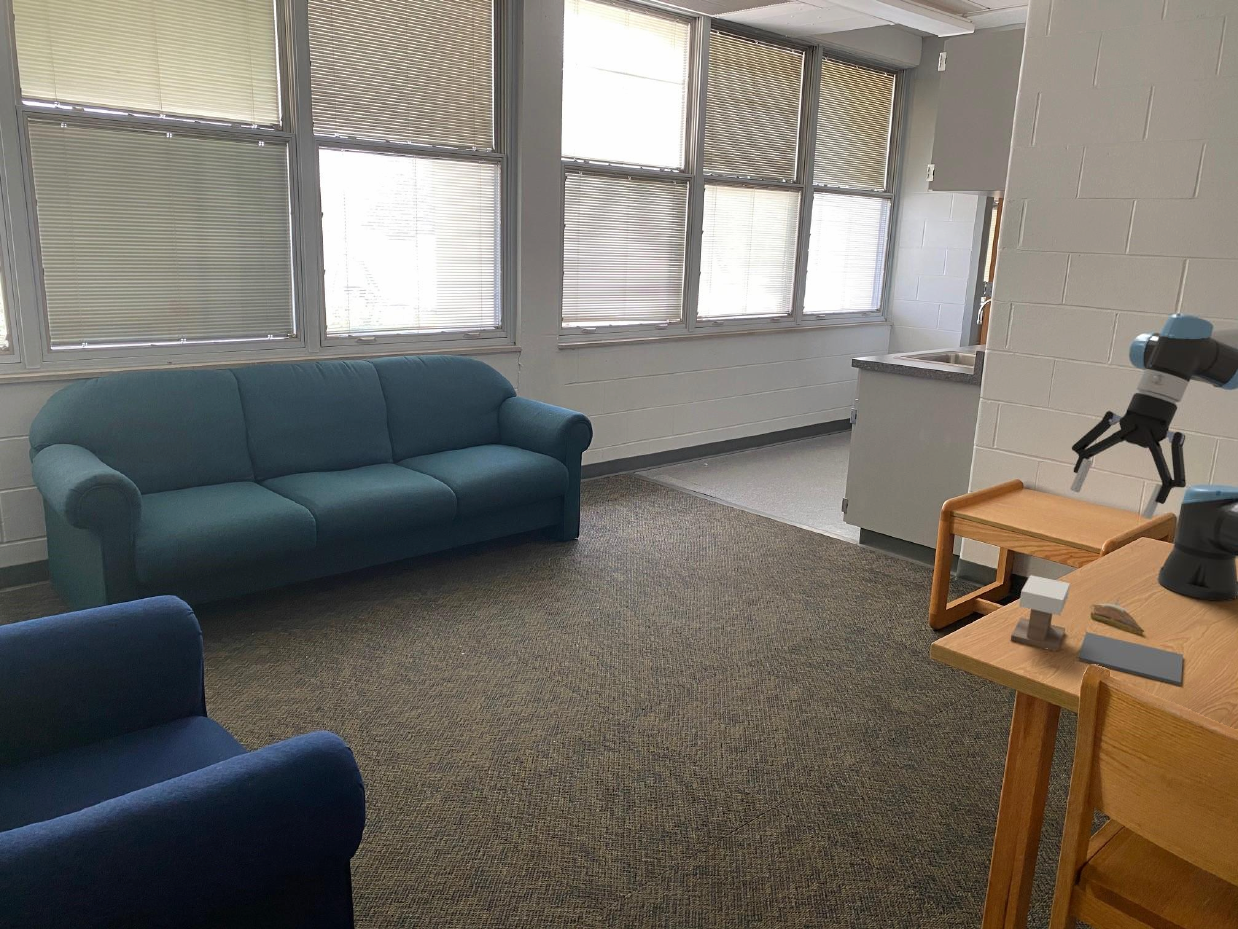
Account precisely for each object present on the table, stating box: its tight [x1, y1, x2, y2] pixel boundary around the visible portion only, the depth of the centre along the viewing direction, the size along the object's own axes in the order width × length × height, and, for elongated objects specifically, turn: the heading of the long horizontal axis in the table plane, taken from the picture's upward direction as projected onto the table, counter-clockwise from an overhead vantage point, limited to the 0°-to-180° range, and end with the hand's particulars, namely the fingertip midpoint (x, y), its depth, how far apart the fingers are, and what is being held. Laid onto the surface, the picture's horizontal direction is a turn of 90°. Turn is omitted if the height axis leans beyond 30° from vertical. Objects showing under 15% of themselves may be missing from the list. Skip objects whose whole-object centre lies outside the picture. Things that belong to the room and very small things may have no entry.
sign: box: [1098, 596, 1128, 613], centre depth 193 cm, size 5×1×15 cm
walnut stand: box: [1010, 609, 1066, 652], centre depth 175 cm, size 10×8×7 cm
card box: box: [1018, 575, 1071, 616], centre depth 173 cm, size 10×7×3 cm
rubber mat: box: [1077, 631, 1184, 686], centre depth 168 cm, size 16×13×1 cm
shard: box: [1089, 604, 1145, 636], centre depth 183 cm, size 11×8×2 cm
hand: (1109, 504), depth 174 cm, fingers open, 13 cm apart
